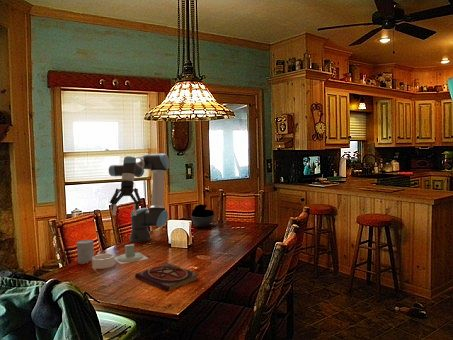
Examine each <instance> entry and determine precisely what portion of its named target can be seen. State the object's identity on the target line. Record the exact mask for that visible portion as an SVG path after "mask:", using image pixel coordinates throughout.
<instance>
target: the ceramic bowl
mask: <svg viewBox="0 0 453 340" xmlns="http://www.w3.org/2000/svg"><path fill="white" fill-rule="evenodd" d="M115 257H116V256H115V254H114V253H99V254H97V255H94V256H93V257H92V261H91V267H92V269H93V270H94V271H96V270H97V269H98V270H101V269H107V268H111V267H113V266H114V265H116V264H115V263H116V260H115Z"/></svg>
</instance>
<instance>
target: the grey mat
mask: <svg viewBox="0 0 453 340" xmlns="http://www.w3.org/2000/svg"><path fill="white" fill-rule="evenodd" d="M137 253H140V252H139V251H138V252H137ZM142 255H143V257H142V258H141V259H139V260H136V261H130V262H122V261H118V256H119V255H118V256H115V262H117V263H118V264H120V265H123V264H128V263H133V262H139V261H144V260H149V257H147V256H146V255H144V254H142Z"/></svg>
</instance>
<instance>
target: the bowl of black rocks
mask: <svg viewBox="0 0 453 340" xmlns="http://www.w3.org/2000/svg"><path fill="white" fill-rule="evenodd" d="M207 207H208V205H207V204H197V205H196V206H195V207H194V209H193V210H192V212H191V216H190V218H191V221H192V222H193V224H194V225H195V226H197V227H201V228H206V227H208V226H210V225H212V223H213V222H214V220H215V216H216V215H215V212H214V210H213V209H206V208H207Z"/></svg>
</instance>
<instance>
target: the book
mask: <svg viewBox="0 0 453 340" xmlns="http://www.w3.org/2000/svg"><path fill="white" fill-rule="evenodd" d="M199 275H200V274H199V273H197V272H194V271H193V270H190V269H187V268H183V267H180V266H178V265H174V264H170V263H168V262H166V263H163V264H160V265H157V266H153V267H151V268H148V269H145V270H143V271H140V272H136V273H135V274H134V276H135V278H136V279H138V280H139V281H142V282H144V283H147V284H148V285H150V286H151V285H152V286H154V287H157V288H159V289H161V290H164V291H165V292H170V290H174V289H175V288H178V287H181V286H183V285H186V284H189V283H194V282H197V281H199V280H200V278H197V276H199Z"/></svg>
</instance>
